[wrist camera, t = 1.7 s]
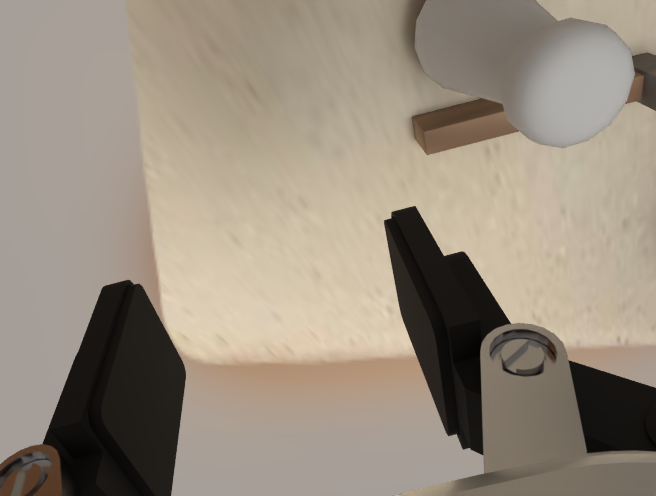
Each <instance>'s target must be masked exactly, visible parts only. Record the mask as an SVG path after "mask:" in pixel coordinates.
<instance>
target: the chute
mask: <svg viewBox="0 0 656 496" xmlns="http://www.w3.org/2000/svg"><path fill="white" fill-rule="evenodd" d="M632 60H633V65H634V71H635V76H634V79H633V82H632V86H631V89H630V92H629V96H628V99H627V101H626V103H625V104H627V103H631V102H634V101H637V102H639V103H641V104H643V105H645V106H647V107H649V108H651V109H653V110H655V111H656V56H655V55H653V54H650V53H644V54H640V55H637V56H633V57H632ZM412 119H413V127H414V135H415V139H416V141H417V142H418V143H419V145H420V146H421V148H422V149H423V150H424V152H425V153H426V154H427V155H429V154H433V153H437V152H441V151H445V150H448V149H452V148H456V147H460V146H464V145H468V144H472V143H476V142H479V141H483V140H487V139H491V138H495V137H499V136H503V135H507V134H510V133H514V132H518V131H519V130H517V129H516V128H515V127H514V126H513V125H512V124H511V123H510V122H509V121H508V120H507V118H506V115H505V111H504V108H503V105H502V104H501V103H497V102H494V101H490V100H486V99H479V100H476V101H472V102H468V103H464V104H460V105H456V106H452V107H449V108H445V109H441V110H437V111H433V112H429V113H425V114H421V115H418V116H414V117H412Z"/></svg>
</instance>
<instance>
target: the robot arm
mask: <svg viewBox="0 0 656 496" xmlns="http://www.w3.org/2000/svg"><path fill="white" fill-rule="evenodd" d="M391 216H392V218H391V219H387V220H384V225H385V231H386V236H387V241H388V247H389V252H390V258H391V263H392V269H393V274H394V280H395V285H396V291H397V296H398V302H399V307H400V311H401V315H402V318H403V321H404V324H405V327H406V329H407V332H408V334H409V337H410V340H411V342H412V345H413V348H414V350H415V353H416V355H417V358H418V361H419V363H420V366H421V368H422V371H423V374H424V376H425V379H426V381H427V384H428V387H429V389H430V392H431V394H432V397H433V400H434V402H435V405H436V407H437V410H438V413H439V415H440V418H441V421H442V423H443V426H444V428H445V431H446V433H447V435H448V436H451V435H454V434H457V436H458V438H459V441H460V443H461V446H462V448H463V449H467V448H470V449H471V450H473V451H475V452H477V453H479V454H482V455H484V474H481V475H477V476H472V477H468V478H463V479H459V480H455V481H451V482H447V483H442V484H439V485H434V486H430V487H426V488H422V489H418V490H414V491H410V492H406V493H402V494H398V495H394V496H656V388H654V387H651V386H648V385H645V384H641V383H638V382H635V381H632V380H629V379H626V378H622V377H620V376H616V375H613V374H610V373H607V372H604V371H600V370H597V369H594V368H591V367H587V366H585V365H582V364H578V363H575V362H572V361H569V360H568V356H567V352H566V349H565V347H564V345H563V342H562V341H561V340H560V339H559V338H558V337H557V336H556V335H555V334H553V333H552V332H550V331H548V330H547V329H545V328H542V327H539V326H536V325H533V324H524V323H515V324H511V323H510V321H509V320H508V318H507V317H506V315H505V314H504V312H503V310H502V309H501V307H500V306H499V304H498V303H497V301H496V300H495V298H494V296H493V295H492V293H491V292H490V290H489V289H488V287H487V285H486V284H485V282H484V281H483V279H482V278H481V276H480V275H479V273H478V271H477V270H476V268H475V267H474V265H473V264H472V262H471V260H470V259H469V257H468V256H467V255H466V253H465V252H463V251H462V252H458V253H454V254H450V255H446V256H444V255H443V254H442V252H441V250H440V248H439V247H438V245H437V243H436V241H435V240H434V238H433V236H432V234H431V233H430V231H429V229H428V227H427V226H426V224H425V222H424V220H423V219H422V217H421V215H420V213H419V212H418V210H417V208H416V207H415V206H413V207H409V208H405V209H401V210H397V211H394V212H392V213H391ZM185 380H186V371H185V367H184V364H183V362H182V360H181V358H180V356H179V354H178V352H177V350H176V348H175V346H174V345H173V343H172V341H171V339H170V337H169V335H168V333H167V331H166V330H165V328H164V326H163V324H162V322H161V321H160V318H159V317H158V315H157V313H156V311H155V309H154V307H153V305H152V304H151V302H150V300H149V298H148V296H147V294H146V292H145V290H144V289H143V287H142V286H141V285H140V284H135V285H134V284H133V283H132V282H131V281H130V280H126V281H122V282H118V283H114V284H110V285H106V286H104V287H103V288H102V290H101V293H100V295H99V298H98V301H97V303H96V306H95V309H94V311H93V314H92V317H91V319H90V322H89V325H88V327H87V330H86V333H85V335H84V338H83V341H82V343H81V346H80V349H79V351H78V353H77V355H76V357H75V360H74V362H73V364H72V367H71V370H70V373H69V375H68V378H67V380H66V383H65V386H64V388H63V391H62V394H61V396H60V399H59V402H58V404H57V407H56V410H55V412H54V415H53V418H52V420H51V423H50V425H49V429H48V431H47V433H46V436H45V439H44V441H43V444H40V445H34V446H30V447H28V448H25V449H22V450H20V451H18V452H16V453H15V454H13V455H12V456H10V457H8V458H7V459H6V460H5V461H4V462H2V463H1V464H0V496H171V491H172V483H173V475H174V467H175V459H176V452H177V444H178V434H179V428H180V420H181V411H182V403H183V396H184V388H185Z"/></svg>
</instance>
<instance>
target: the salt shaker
mask: <svg viewBox="0 0 656 496" xmlns="http://www.w3.org/2000/svg"><path fill="white" fill-rule="evenodd" d="M414 48H415V50H416V53H417V55H418V58H419V60H420V63H421V65H422V68H423V70H424V72H425V74H426V75H427V76H429V77H430V78H431V79H432V80H434V81H435V82H436V83H437V84H439V85H440V86H441V87H442V88H445V89H449V90H453V91H456V92H460V93H464V94H468V95H471V96H475V97H479V98H483V99H486V100H490V101H494V102H497V103H501V104H502V105H503V108H504V111H505V115H506V118H507V120H508V121H509V122H510V123H511V124H512V125H513V126H514V127H515V128H516V129H517V130H519V131H520V132H521V133H522V134H523V135H525V136H526V137H527V138H528V139H530V140H531V141H533V142H536V143H538V144H541V145H547V146H553V147H559V148H565V147H568V146H572V145H575V144H578V143H581V142H585V141H588V140H589V139H591V138H592V137H593V136H595V135H596V134H598V133H599V132H600V131H602V130H603V129H604V128H606V127H607V126H609V125H610V124H611V123H612V121H613V120H614V118H615V117H616V116H617V114H618V113H619V111H620V110H621V108H622V107H623V106H624V104H625V103H626V101H627V99H628V96H629V92H630V89H631V86H632V82H633V79H634V76H635V71H634V65H633V60H632V54H631V49H630V48H629V47H628V46H627V45H626V44H625V43H624V41H623V40H622V39H621V38H620V37H619V36H618V35H617V34H616V32H614V31H613V30H612V29H611V28H609V27H608V26H607V25H603V24H599V23H594V22H589V21H584V20H579V19H574V18H568V19H565V20H561V21H557V20H556V19H555V18H554V17H553V16H552V15H551V14H550V13H549V12H547V11H546V10H545V9H544V8H543V7H542V6H541V5H540V4H539V3H538V2H536V1H535V0H426V1H425V4H424V6H423V8H422V10H421V12H420V14H419V16H418V18H417V20H416V30H415V47H414Z"/></svg>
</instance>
